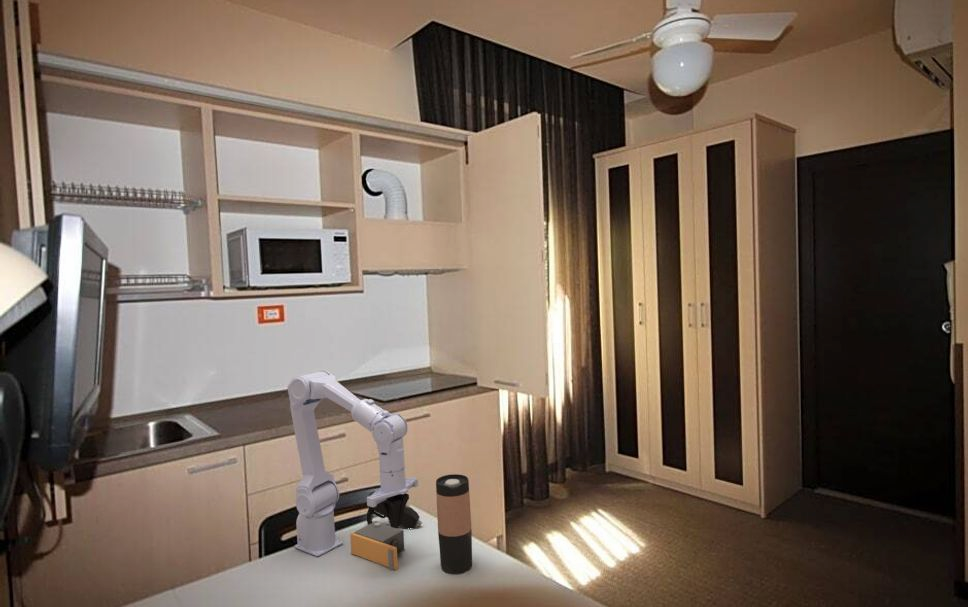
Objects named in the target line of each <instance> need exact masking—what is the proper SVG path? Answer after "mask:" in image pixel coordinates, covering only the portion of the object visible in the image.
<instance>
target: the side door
mask: <svg viewBox="0 0 968 607" xmlns="http://www.w3.org/2000/svg"><path fill="white" fill-rule="evenodd" d="M349 537H350V538H349V540H350V541H349V542H350V554H352V555H354V556H358V557H361V558H363V559H365V560H369V561H371V562H374V563H376V564H379V565H381V566H385V567H387V568H389V569H392V570H397V569H398V568H399V566H398V565H399V564H398V563H399V562H398V555H397V547H394V546H391V545H388V544H385V543H382V542H379V541H376V540H373V539H370V538H367V537H364V536H361V535H358V534H355V533H354V532H349Z"/></svg>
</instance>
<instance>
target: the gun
mask: <svg viewBox="0 0 968 607" xmlns="http://www.w3.org/2000/svg"><path fill="white" fill-rule="evenodd" d="M376 491H377V490H376ZM376 491H372V492H370V493H368V496H367V497H369V496H370V495H372V494H373V493H374V492H376ZM376 505H377V506H375V507H370V506H368V509H367V512H366V523H367V525H369V524H371V523H373V522H374V521H373V517H374V515H375V516H377V517H379V518H380V519H385V518H387V519H388V517H387V514H386V512H385V510H384V508H383V507H382V505H381V504H380V503H378V504H376ZM422 523H423V522H422V521H421V519H420V516H419V513H418V512H417V511H416V510H415V509H413V508H412V507H411V506H410V505H409V504H406V506H405V509H404V512H403V516H402V521H401V526H402V527H403V528H405V529H407V528H409V529H408V530H411V529H410V528H414V527H415V528H416V527H417V526H421V525H422ZM401 526H400V527H401ZM415 528H414V529H415Z"/></svg>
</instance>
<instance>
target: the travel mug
mask: <svg viewBox="0 0 968 607" xmlns="http://www.w3.org/2000/svg"><path fill="white" fill-rule="evenodd" d="M469 481H470V480H469V478H468V476H466V475H463V474H459V473H458V474H457V473H455V474H454V473H451V474H445V475H442V476H440V477H438V478H437V479H436V480H435V489H436V490H435V495H436V512H437V514H436V516H437V517H436V518H437V534H438V535H437V536H438V544H439V546H438V547H439V557H440V559H439V560H440V568H441V570H442V572H444V573H445V574H448V575H461V574H464V573H467V572H468V571H471V569H472V567H473V539H472V538H473V537H472V531H473V530H472V512H471V511H472V510H471V500H470V498H471V495H470V483H469Z"/></svg>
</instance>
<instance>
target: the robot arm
mask: <svg viewBox="0 0 968 607" xmlns="http://www.w3.org/2000/svg"><path fill="white" fill-rule="evenodd" d="M337 380H338V379H337V377H336V375H334V374H332V373H331V372H329V371H328V370H319V371H317V372H312V373H308V374H304V375H295V376H294V377H293V378H292V379H291V381H290V383H289V384H288V385H287V387H286V388H287V392H288V397H289V403H290V404H289V408H290V414H291V418H292V425H293V431H294V435H295V441H296V446H297V451H298V457H299V462H300V467H301V472H302V477H301V479H300V480H299V481H298V483H297V485H296V487H295V493H296V497H295V507H296V510H297V511H298V516H297V518H296V523H295V524H296V538H297V540H296V541H297V544H295V545H294V548H295V549H296V550H297V549H298V550H300V551H303V552H305V553H308V554H310V555H312V556H314V557H320V556H322V555H324V554H326V553H327V552H329V551H332V550H333V549H335V548H337V547H340V546H341V545H343V544H344V542H343V540H340V539H338V538H336V528H335V512H334V509H335V508H336V503H337V502H338V501H339V499H340V490H339V487H338V485H337V483H336V480H335V478H334V475H333V474H332V473H330V472H329V471H326V468H325V467H326V466H325V463H324V458H323V453H322V452H323V451H322V446H321V443H320V436H319V431H318V430H319V429H318V426H317V421H316V414H315V409H316V408H317V406H318V405H319V403H320V402H321V401H322V400H323V399H329V400H330V401H332V402H334V403H335V404H337V405H339V406H340V407H342V408H344V409H345V410H347V411H348V412H350V413H351V418H352V420H353V421H355V422H356V423H358V424H359V425H360V426H362V427H363V428H365V429H366V430H368V431H369V432H370V433H371V435H372V438H373V440H374V442H375V443H376V449H377V452H378V461H379V478H380V481H379V482H380V487H379V488H378V489H377V490H376V492H374V491H373V492H374V493H373V494H372V495H370V496H369V495H368V496H369V497H368V496H367V497H366V505H367V507H369V506H370V507H375V506H377V505H376V504H378V503H380V504H381V505H382V507H383V508H384V510H385V512H386V514H387V517H388V518H387V517H386V518H387V519H388V522H389V523H388V524H389V526H391V527H393V528H398V529H399V528H401V521H402V516H403V512H404V509H405V506H406V505H407V504H408V501H409V499H410V495H409V494H408V493H409V490H410V489H412V488H417V487H419V478H418V477H414V476H411V477H409V478H406V466H405V464H406V463H405V446H404V437H405V436H406V435H407V433H408V430H409V429H408V422H407V420H406V419H405V417H403V416H402V415H401V414H400V413H391V412H389V411H388V410H385V409H383V408H381V407H380V406H378V404H376V403H375V400H373V399H371V398H370V399H367V398H364V399H360V398H358V397H357V396H356V395H354V393H352V392H351V391H350V390H348V389H347V388H346V387H345V386H343V385H342V384H341V383H340V382H338V381H337Z"/></svg>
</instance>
